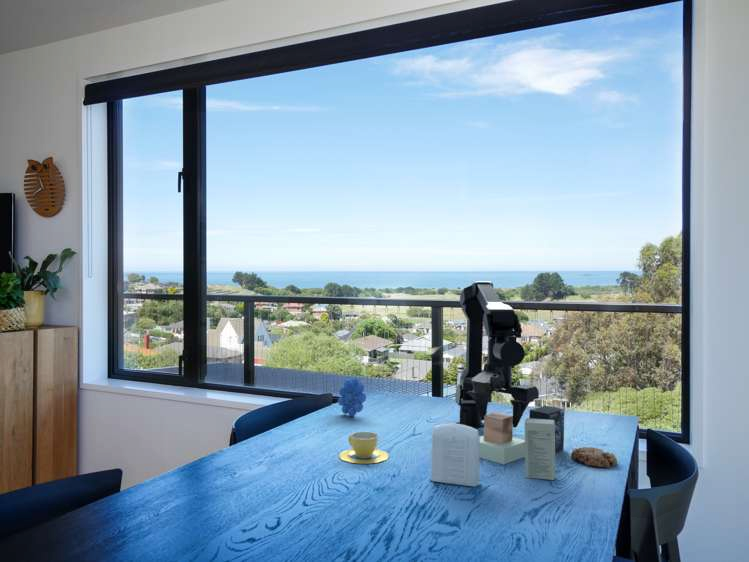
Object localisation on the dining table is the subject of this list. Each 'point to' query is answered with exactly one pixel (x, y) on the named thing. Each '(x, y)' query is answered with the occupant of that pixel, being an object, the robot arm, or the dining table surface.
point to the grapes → (352, 396)
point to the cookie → (594, 457)
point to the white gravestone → (455, 454)
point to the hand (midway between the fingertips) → (498, 423)
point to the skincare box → (540, 448)
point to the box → (552, 414)
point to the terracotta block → (498, 428)
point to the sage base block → (502, 450)
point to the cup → (363, 448)
